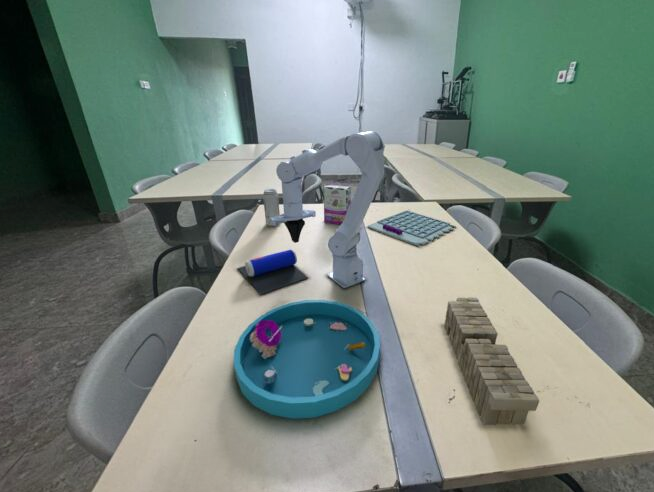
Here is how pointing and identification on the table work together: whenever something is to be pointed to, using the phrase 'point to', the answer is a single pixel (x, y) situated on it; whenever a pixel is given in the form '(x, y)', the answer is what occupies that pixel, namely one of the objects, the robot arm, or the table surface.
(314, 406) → the round teal tray
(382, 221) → the calendar
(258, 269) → the beverage can
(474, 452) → the table surface
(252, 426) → the table surface
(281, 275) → the mat
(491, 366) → the block tower
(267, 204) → the energy drink can
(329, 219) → the candy bar box
